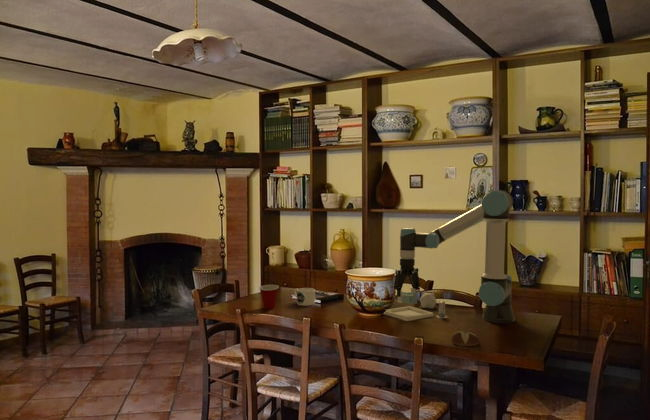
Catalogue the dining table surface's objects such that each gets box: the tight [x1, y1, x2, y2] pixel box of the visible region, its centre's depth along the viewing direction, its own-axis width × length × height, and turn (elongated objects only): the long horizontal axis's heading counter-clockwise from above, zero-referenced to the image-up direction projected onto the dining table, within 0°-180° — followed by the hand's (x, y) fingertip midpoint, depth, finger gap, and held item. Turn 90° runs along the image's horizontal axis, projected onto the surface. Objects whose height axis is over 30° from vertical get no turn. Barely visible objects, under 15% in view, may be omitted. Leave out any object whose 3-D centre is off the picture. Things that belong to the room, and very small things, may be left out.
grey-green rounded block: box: [401, 291, 418, 305], centre depth 264 cm, size 11×8×4 cm
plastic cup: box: [258, 284, 280, 310], centre depth 280 cm, size 11×11×12 cm
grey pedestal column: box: [435, 300, 448, 319], centre depth 261 cm, size 6×6×8 cm
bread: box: [451, 329, 480, 347], centre depth 218 cm, size 11×11×5 cm
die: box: [419, 292, 438, 309], centre depth 282 cm, size 8×9×10 cm
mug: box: [293, 287, 316, 307], centre depth 292 cm, size 13×10×8 cm
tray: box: [383, 305, 434, 322], centre depth 265 cm, size 18×18×2 cm
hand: (406, 301), depth 265 cm, fingers closed on grey-green rounded block, 8 cm apart
